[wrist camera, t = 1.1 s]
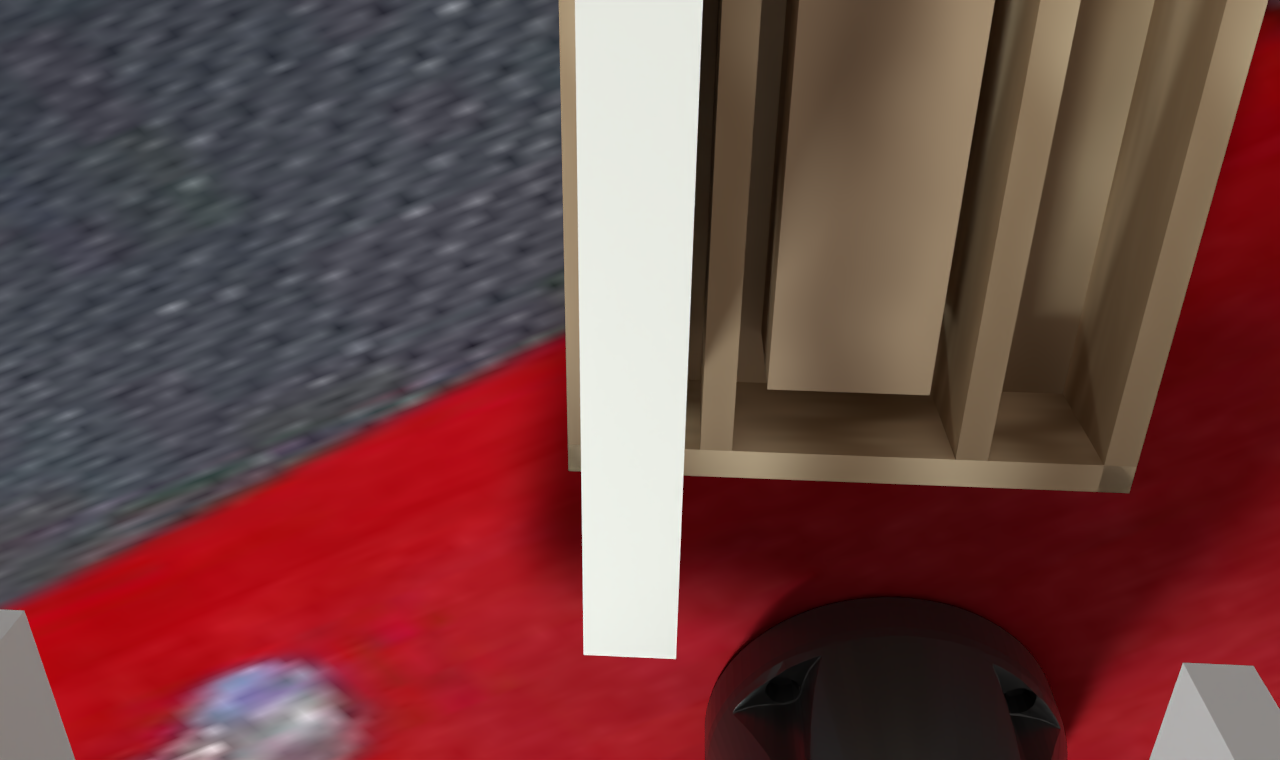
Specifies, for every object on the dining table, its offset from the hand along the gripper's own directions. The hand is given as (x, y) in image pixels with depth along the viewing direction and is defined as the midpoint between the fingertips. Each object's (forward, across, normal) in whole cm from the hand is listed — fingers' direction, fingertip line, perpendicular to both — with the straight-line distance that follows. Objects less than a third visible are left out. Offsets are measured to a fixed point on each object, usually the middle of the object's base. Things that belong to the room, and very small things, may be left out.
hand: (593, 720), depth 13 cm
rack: (+26, -6, 0) cm, 27 cm away
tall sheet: (+25, 0, 0) cm, 25 cm away
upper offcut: (+23, -6, 0) cm, 23 cm away
